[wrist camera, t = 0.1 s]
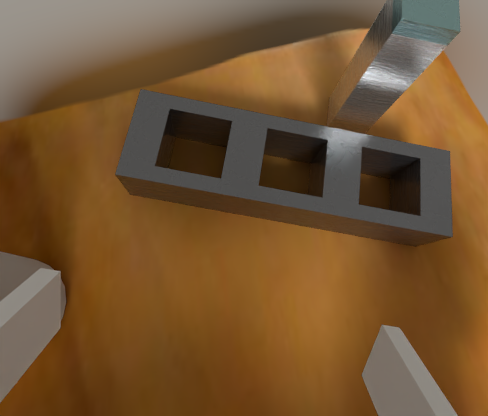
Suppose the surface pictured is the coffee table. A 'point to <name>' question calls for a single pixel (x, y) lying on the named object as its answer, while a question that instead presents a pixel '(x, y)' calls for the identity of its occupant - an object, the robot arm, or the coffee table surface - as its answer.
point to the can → (21, 274)
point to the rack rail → (295, 148)
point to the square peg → (391, 59)
